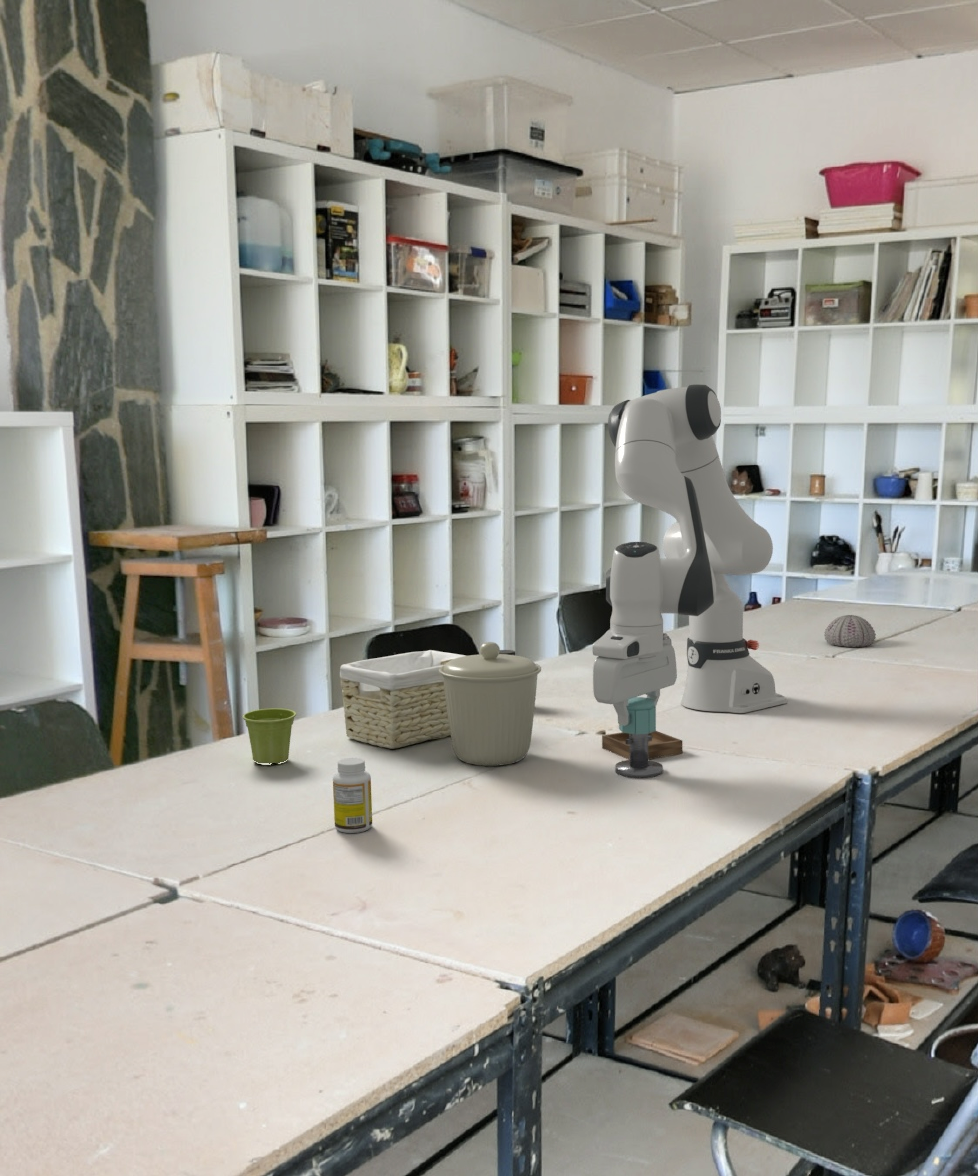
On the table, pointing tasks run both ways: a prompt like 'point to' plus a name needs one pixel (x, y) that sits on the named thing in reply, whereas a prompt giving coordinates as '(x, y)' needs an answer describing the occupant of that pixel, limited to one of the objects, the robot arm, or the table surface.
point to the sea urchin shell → (850, 632)
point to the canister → (490, 705)
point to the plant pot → (270, 734)
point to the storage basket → (396, 698)
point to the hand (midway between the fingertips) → (637, 720)
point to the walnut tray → (656, 747)
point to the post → (638, 759)
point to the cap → (640, 716)
